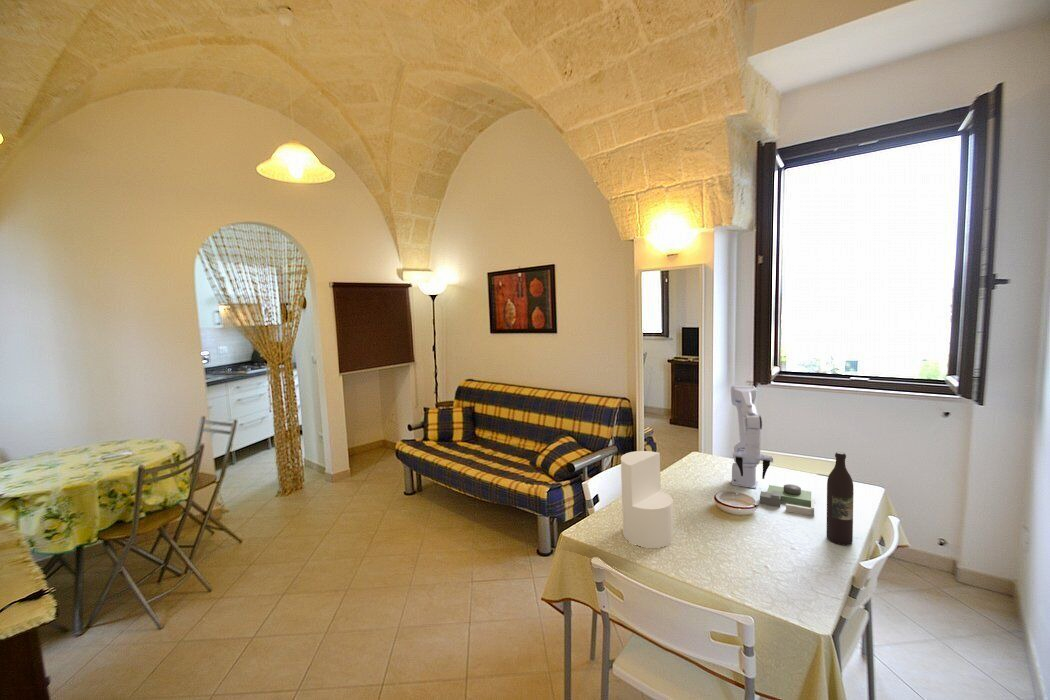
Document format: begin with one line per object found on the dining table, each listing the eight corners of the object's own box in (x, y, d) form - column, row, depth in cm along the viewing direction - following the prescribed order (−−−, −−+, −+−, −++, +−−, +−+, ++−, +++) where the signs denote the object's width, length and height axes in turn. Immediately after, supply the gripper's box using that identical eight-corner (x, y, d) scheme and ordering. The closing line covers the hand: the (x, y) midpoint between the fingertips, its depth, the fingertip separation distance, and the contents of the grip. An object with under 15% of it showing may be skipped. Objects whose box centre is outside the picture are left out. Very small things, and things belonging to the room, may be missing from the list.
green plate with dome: (765, 507, 169) (765, 496, 168) (769, 490, 183) (769, 480, 183) (814, 516, 160) (814, 504, 159) (814, 498, 174) (814, 487, 174)
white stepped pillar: (613, 535, 154) (610, 459, 151) (641, 518, 165) (639, 447, 162) (655, 554, 140) (653, 472, 138) (683, 535, 151) (681, 458, 149)
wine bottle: (828, 543, 142) (829, 455, 139) (824, 533, 148) (825, 448, 145) (854, 547, 139) (856, 457, 136) (850, 537, 145) (851, 450, 142)
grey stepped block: (759, 504, 172) (759, 493, 171) (761, 499, 176) (761, 488, 175) (780, 508, 168) (780, 496, 167) (780, 503, 172) (780, 491, 172)
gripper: (731, 445, 174) (732, 477, 176) (773, 449, 167) (773, 483, 168) (733, 440, 180) (733, 471, 182) (773, 444, 173) (773, 476, 174)
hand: (752, 476), depth 175 cm, fingers open, 7 cm apart
